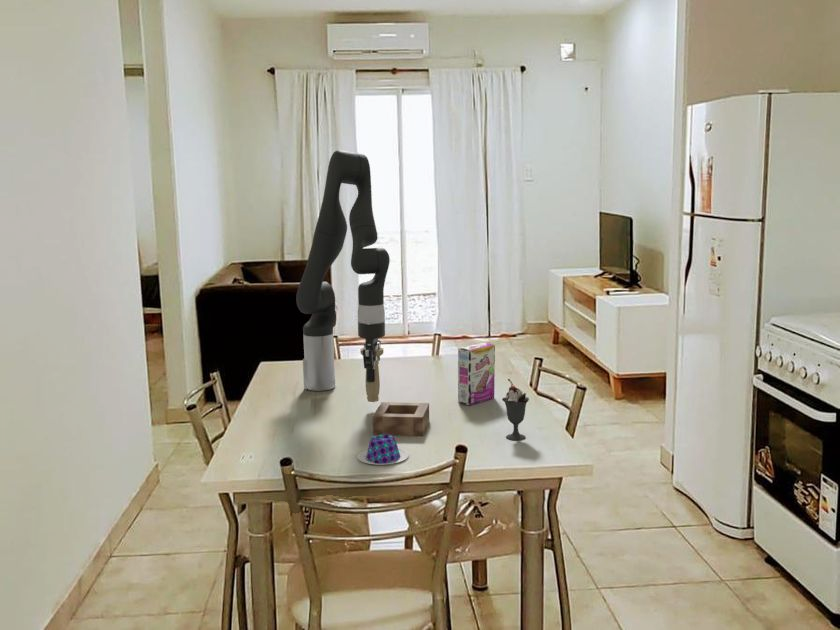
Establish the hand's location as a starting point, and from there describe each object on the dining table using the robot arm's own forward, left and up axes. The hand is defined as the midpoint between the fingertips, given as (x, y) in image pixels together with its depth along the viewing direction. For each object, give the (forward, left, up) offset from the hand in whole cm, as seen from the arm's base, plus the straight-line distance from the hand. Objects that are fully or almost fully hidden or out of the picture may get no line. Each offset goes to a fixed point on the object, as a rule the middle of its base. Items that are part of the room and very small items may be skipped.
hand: (372, 379), depth 237 cm
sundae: (+41, -21, -9) cm, 47 cm away
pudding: (+10, -38, -10) cm, 40 cm away
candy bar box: (+29, +12, -9) cm, 32 cm away
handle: (0, 0, -6) cm, 6 cm away
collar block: (+11, -15, -9) cm, 20 cm away
